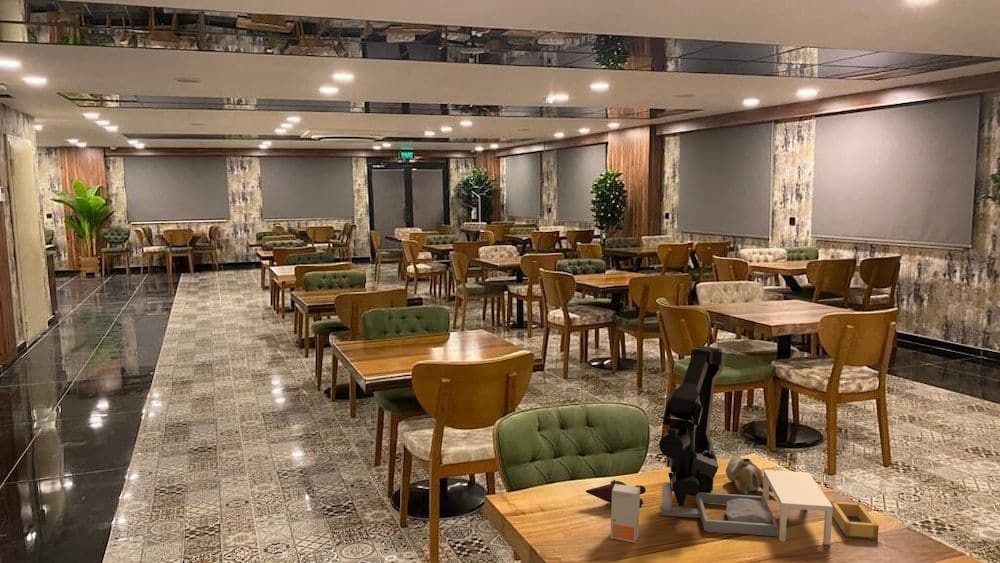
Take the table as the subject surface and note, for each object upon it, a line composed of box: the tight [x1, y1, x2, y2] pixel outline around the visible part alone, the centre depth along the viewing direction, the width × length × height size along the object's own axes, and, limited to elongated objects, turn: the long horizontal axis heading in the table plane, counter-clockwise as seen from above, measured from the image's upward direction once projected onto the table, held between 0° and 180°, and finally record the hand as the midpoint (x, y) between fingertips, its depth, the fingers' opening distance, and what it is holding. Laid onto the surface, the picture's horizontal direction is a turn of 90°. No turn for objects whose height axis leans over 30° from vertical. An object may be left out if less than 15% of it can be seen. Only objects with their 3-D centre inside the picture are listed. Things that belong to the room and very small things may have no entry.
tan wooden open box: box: [830, 501, 880, 541], centre depth 171 cm, size 7×12×4 cm, turn 171°
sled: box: [659, 482, 779, 537], centre depth 176 cm, size 26×17×7 cm, turn 81°
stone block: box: [725, 498, 771, 524], centre depth 175 cm, size 12×5×10 cm
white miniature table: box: [762, 469, 833, 546], centre depth 173 cm, size 11×20×9 cm, turn 171°
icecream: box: [585, 479, 647, 506], centre depth 182 cm, size 7×8×15 cm
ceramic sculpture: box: [725, 453, 773, 495], centre depth 193 cm, size 11×9×15 cm
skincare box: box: [610, 484, 641, 544], centre depth 165 cm, size 6×4×12 cm
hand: (681, 505), depth 177 cm, fingers closed, pressing on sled
